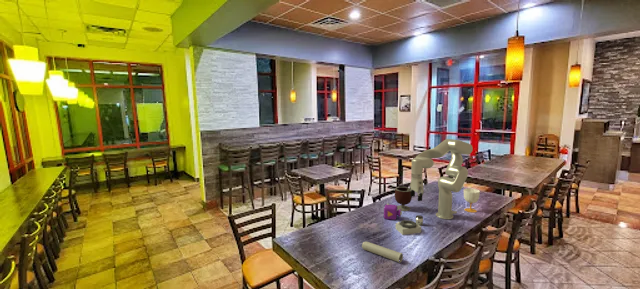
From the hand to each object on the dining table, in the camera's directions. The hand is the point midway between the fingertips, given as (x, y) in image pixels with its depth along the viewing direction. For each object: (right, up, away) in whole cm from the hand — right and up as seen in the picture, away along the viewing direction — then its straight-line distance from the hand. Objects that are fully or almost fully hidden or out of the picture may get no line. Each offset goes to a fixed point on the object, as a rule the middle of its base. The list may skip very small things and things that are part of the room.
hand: (416, 198), depth 199 cm
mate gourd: (+1, -15, +33) cm, 37 cm away
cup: (+54, -15, +26) cm, 62 cm away
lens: (+3, -19, +2) cm, 20 cm away
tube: (-34, -26, -37) cm, 57 cm away
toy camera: (-13, -18, +15) cm, 27 cm away
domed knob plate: (-8, -21, -7) cm, 24 cm away
